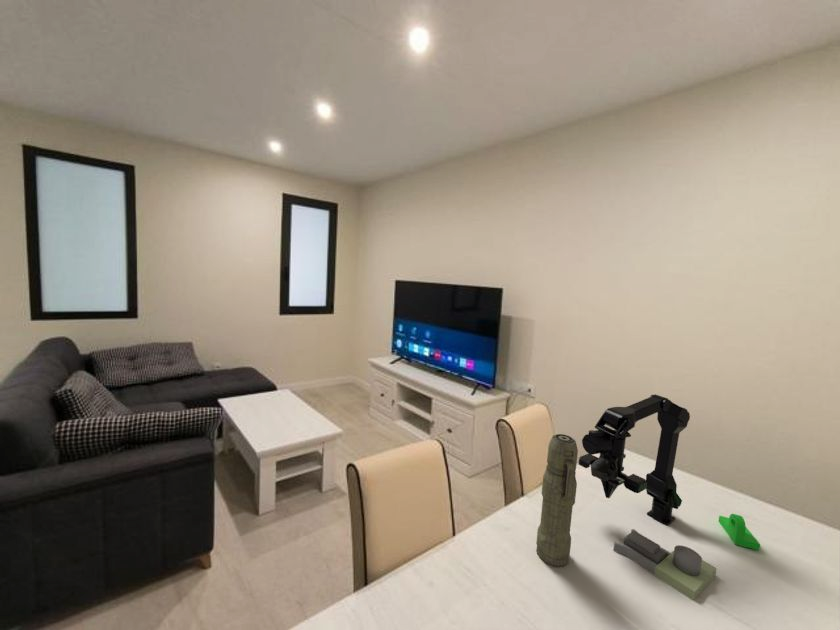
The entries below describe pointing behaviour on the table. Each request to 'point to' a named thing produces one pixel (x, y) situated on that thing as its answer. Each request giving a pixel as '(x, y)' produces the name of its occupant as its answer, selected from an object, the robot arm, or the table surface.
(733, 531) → the mechanical part
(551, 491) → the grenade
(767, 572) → the table surface
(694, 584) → the green block with prongs
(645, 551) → the two tier gray step
